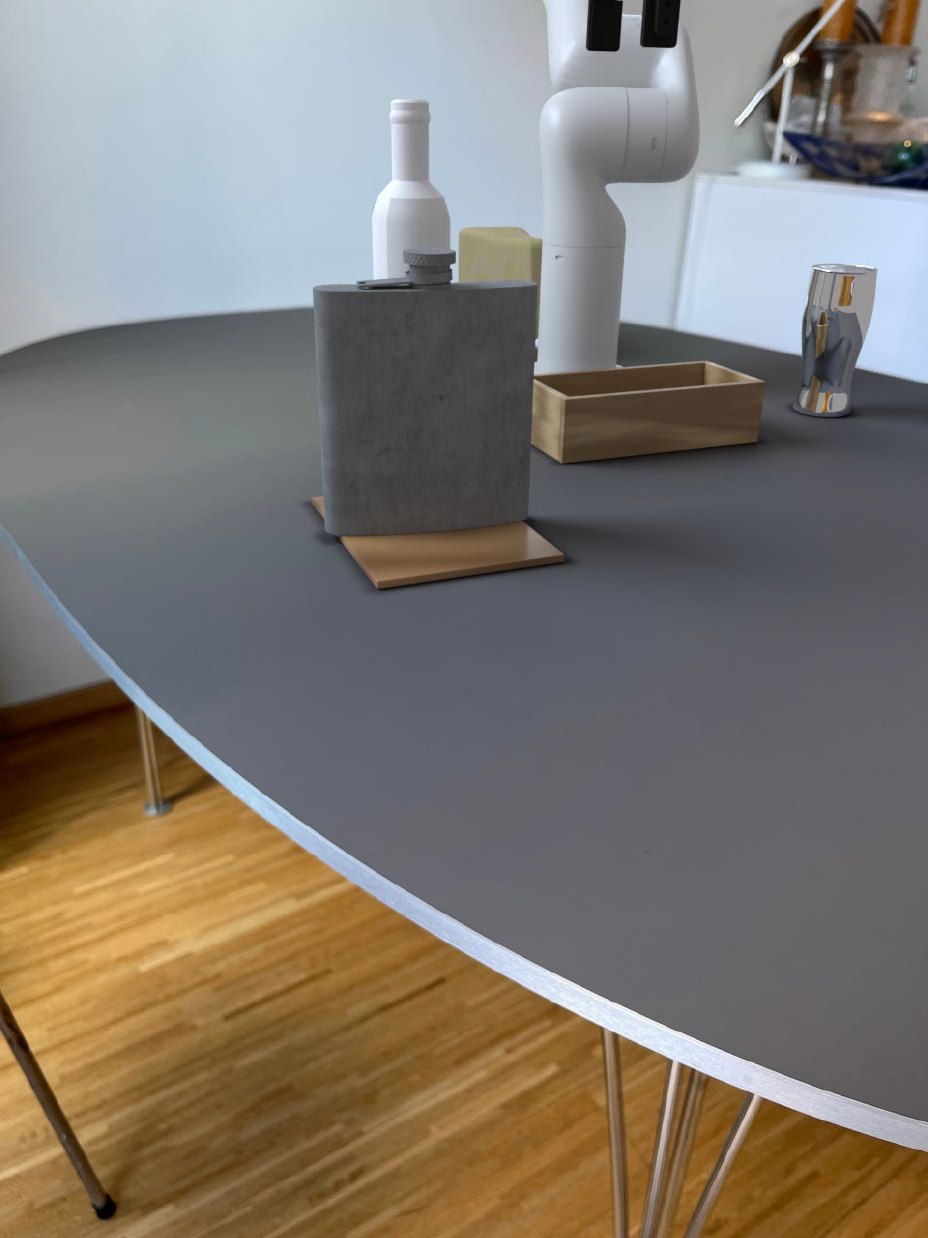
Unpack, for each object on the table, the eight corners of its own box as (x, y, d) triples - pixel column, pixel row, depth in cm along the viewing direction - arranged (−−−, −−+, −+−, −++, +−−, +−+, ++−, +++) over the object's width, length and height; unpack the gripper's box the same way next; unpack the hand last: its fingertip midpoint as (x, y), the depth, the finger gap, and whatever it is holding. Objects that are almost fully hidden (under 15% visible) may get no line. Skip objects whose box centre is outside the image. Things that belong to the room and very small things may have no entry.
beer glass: (858, 420, 110) (885, 273, 103) (790, 416, 111) (812, 270, 105) (849, 404, 116) (874, 264, 109) (785, 400, 117) (806, 262, 111)
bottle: (462, 410, 112) (465, 100, 99) (430, 427, 105) (429, 98, 92) (397, 401, 115) (392, 99, 102) (362, 418, 108) (351, 98, 95)
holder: (516, 435, 103) (518, 375, 101) (700, 416, 111) (707, 360, 108) (561, 464, 95) (565, 399, 92) (757, 441, 102) (766, 381, 100)
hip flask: (521, 507, 83) (531, 242, 74) (536, 525, 79) (549, 249, 70) (322, 522, 79) (308, 246, 70) (329, 541, 75) (315, 253, 67)
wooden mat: (312, 504, 84) (311, 497, 84) (470, 485, 89) (470, 478, 89) (377, 589, 69) (377, 581, 69) (564, 562, 74) (564, 554, 74)
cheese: (569, 362, 134) (576, 240, 127) (497, 365, 132) (500, 241, 125) (520, 331, 153) (523, 223, 146) (456, 333, 151) (457, 224, 144)
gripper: (557, -179, 88) (547, 51, 95) (662, -232, 73) (640, 44, 81) (635, -171, 90) (619, 53, 98) (751, -220, 76) (722, 47, 83)
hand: (629, 49), depth 89 cm, fingers open, 9 cm apart
